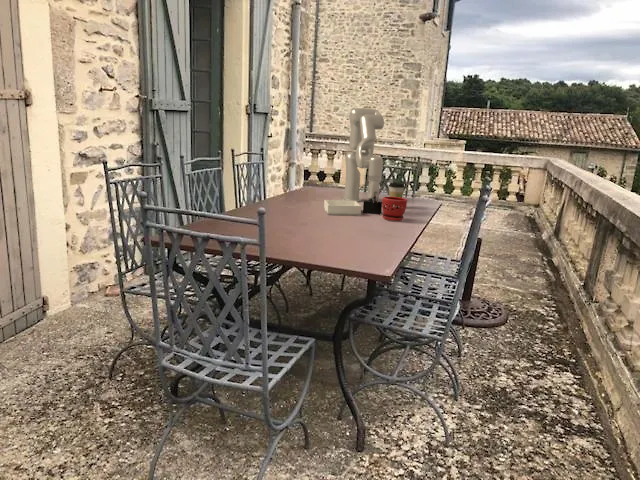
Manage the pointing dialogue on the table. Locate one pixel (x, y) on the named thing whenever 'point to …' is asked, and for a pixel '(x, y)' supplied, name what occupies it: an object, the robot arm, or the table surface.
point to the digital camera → (368, 208)
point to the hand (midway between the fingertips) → (372, 208)
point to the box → (342, 207)
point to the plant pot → (393, 208)
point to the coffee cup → (396, 190)
